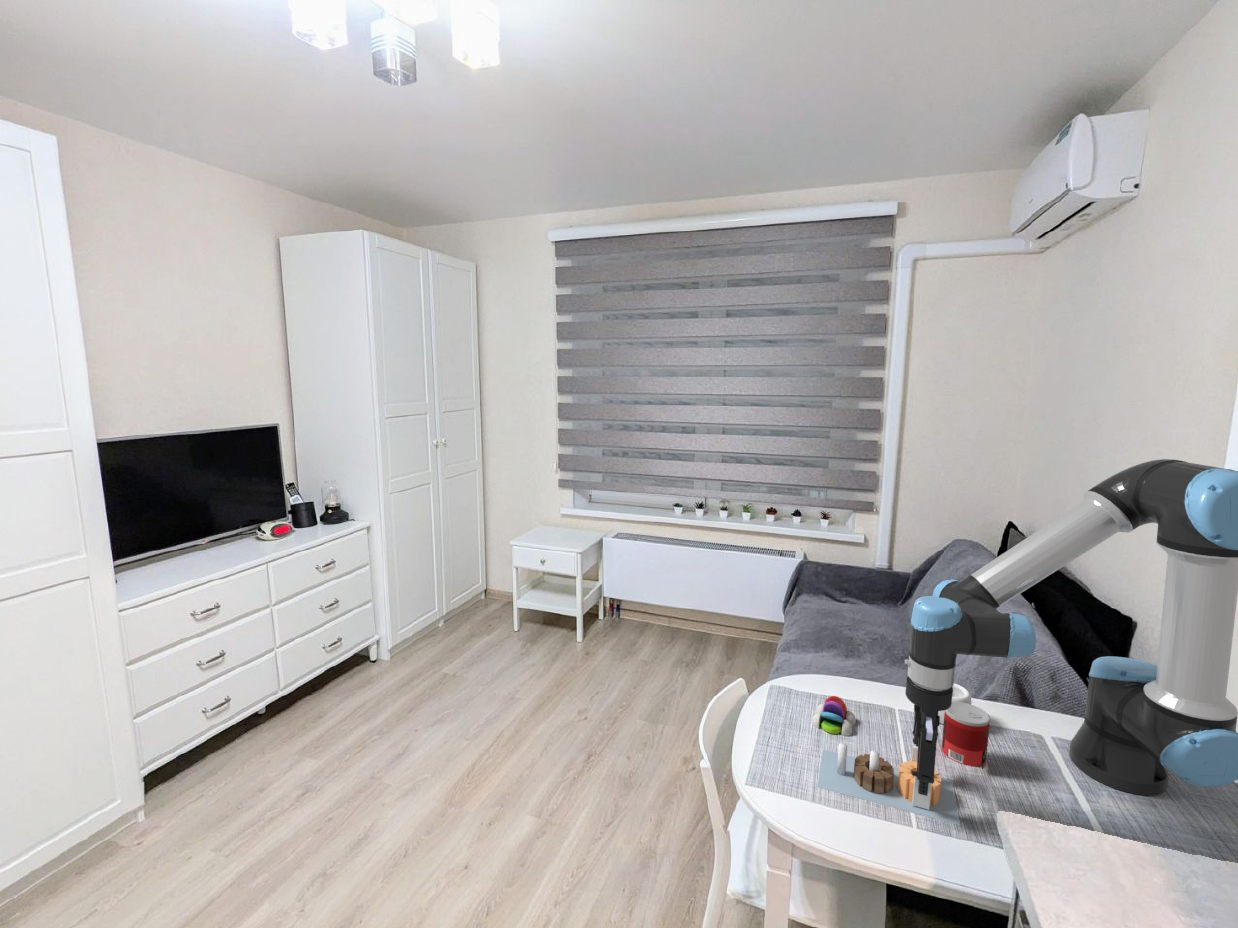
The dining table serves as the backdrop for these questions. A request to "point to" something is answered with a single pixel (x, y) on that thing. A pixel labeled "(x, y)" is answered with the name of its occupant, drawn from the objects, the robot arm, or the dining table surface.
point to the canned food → (966, 734)
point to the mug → (957, 698)
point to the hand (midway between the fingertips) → (919, 791)
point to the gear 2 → (908, 782)
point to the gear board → (841, 780)
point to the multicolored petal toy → (834, 717)
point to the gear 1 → (873, 774)
